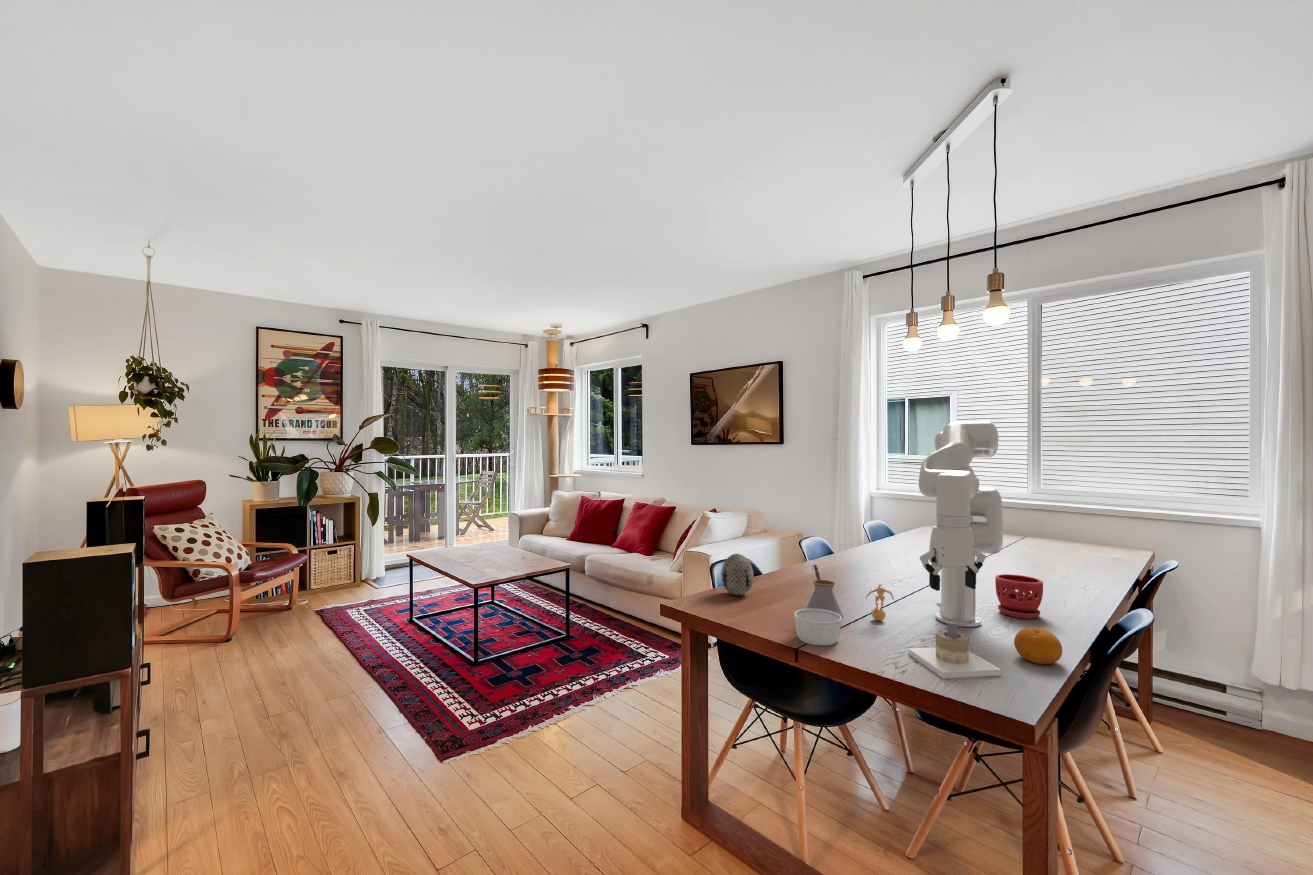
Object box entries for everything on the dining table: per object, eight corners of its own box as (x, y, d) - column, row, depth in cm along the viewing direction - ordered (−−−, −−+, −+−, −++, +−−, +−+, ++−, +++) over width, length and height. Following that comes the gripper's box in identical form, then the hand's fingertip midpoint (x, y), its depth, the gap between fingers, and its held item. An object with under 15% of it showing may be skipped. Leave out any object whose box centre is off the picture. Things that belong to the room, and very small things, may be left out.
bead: (931, 653, 146) (931, 630, 146) (956, 652, 146) (956, 629, 146) (947, 664, 139) (947, 640, 139) (974, 663, 140) (974, 639, 140)
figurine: (890, 619, 178) (890, 581, 178) (895, 625, 172) (896, 586, 172) (863, 617, 179) (863, 580, 179) (867, 624, 173) (867, 585, 173)
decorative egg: (760, 596, 202) (760, 555, 202) (734, 601, 197) (734, 558, 196) (739, 588, 213) (739, 549, 212) (714, 593, 207) (714, 552, 207)
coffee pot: (847, 630, 167) (847, 580, 167) (807, 629, 168) (807, 579, 168) (832, 608, 188) (832, 564, 188) (797, 607, 190) (797, 563, 189)
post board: (908, 654, 149) (908, 614, 149) (960, 651, 151) (960, 612, 151) (943, 678, 134) (943, 634, 134) (1000, 675, 136) (1001, 632, 136)
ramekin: (806, 627, 170) (806, 605, 170) (849, 637, 161) (849, 613, 161) (786, 640, 160) (786, 616, 160) (831, 651, 151) (831, 626, 151)
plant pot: (1052, 620, 176) (1052, 582, 176) (1010, 620, 176) (1010, 582, 176) (1026, 608, 189) (1026, 572, 189) (986, 607, 189) (986, 572, 189)
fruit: (1009, 660, 145) (1009, 629, 145) (1019, 649, 152) (1019, 620, 152) (1058, 672, 138) (1058, 640, 138) (1066, 660, 145) (1066, 629, 145)
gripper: (974, 518, 147) (974, 582, 148) (912, 520, 145) (912, 585, 146) (994, 523, 140) (994, 591, 140) (929, 525, 138) (929, 594, 138)
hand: (952, 588), depth 143 cm, fingers open, 9 cm apart
